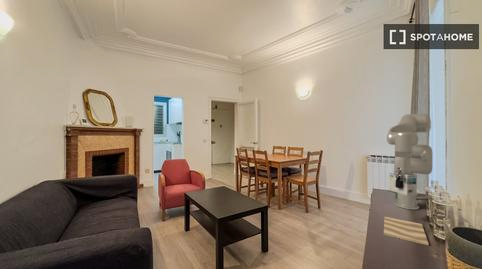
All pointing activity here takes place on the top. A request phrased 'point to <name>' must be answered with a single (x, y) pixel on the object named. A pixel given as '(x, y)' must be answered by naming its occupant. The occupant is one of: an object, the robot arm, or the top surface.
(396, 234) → the oak board
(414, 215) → the top surface
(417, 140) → the robot arm
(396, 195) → the figurine
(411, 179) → the light bulb box
